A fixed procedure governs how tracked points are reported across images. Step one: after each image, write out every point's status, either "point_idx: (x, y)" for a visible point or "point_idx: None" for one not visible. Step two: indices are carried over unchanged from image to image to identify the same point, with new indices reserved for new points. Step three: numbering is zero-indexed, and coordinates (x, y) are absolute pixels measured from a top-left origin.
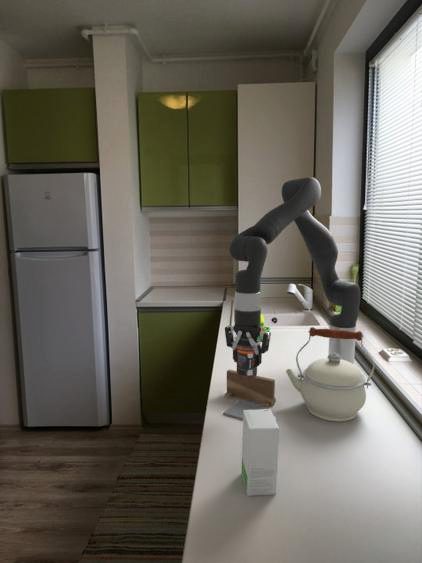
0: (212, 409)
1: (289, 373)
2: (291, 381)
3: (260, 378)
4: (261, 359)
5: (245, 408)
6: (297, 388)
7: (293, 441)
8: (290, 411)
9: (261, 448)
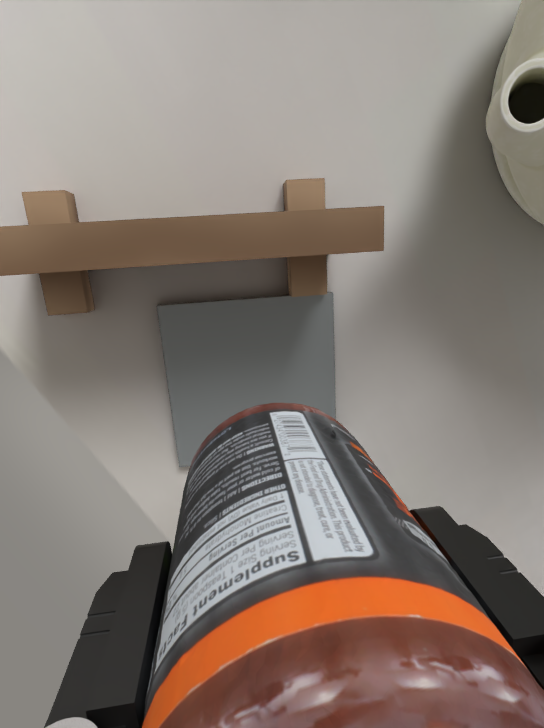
0: (107, 454)
1: (535, 134)
2: (499, 144)
3: (275, 251)
4: (513, 568)
5: (241, 372)
6: (517, 159)
7: (510, 460)
8: (426, 246)
9: None
